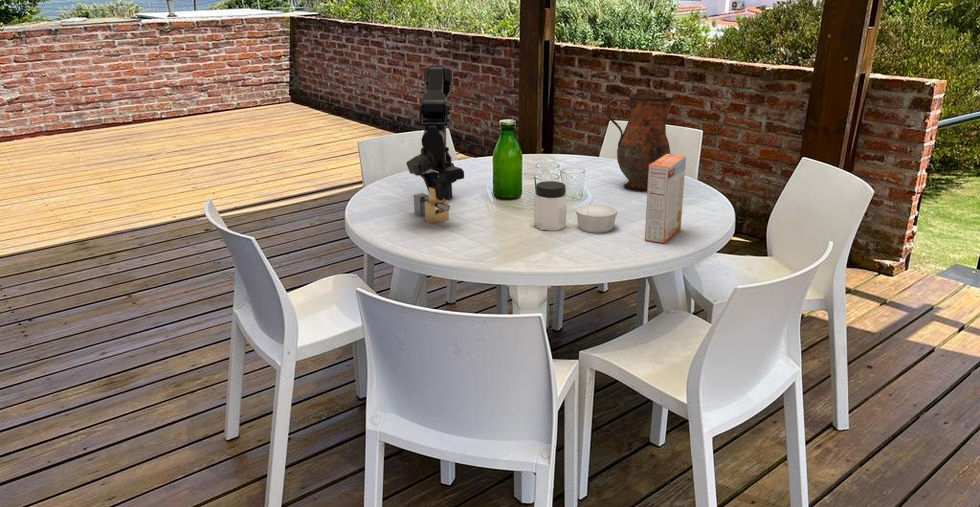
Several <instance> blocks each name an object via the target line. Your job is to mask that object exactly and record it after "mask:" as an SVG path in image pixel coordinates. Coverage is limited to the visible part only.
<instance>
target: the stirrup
mask: <svg viewBox="0 0 980 507" xmlns="http://www.w3.org/2000/svg"><path fill="white" fill-rule="evenodd" d="M428 196H429V201H426V202H425V216H424V217H425V220H424V221H425V222H426V223H429V224H431V225H433V224H436V223H440V222H444V221H448V220H449V219H450V218H449V217H450V216H449V213H450V210H449V211H445V210H442V209H439V208H437V209H436V207H435V203H439V202H442V203H444V204H447V205H449V200H446V199H443V200H442V201H439V197H438V189H437V185H436V186H431V187H429V192H428ZM430 201H431V202H430ZM433 202H434V203H433Z"/></svg>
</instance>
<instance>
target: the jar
mask: <svg viewBox="0 0 980 507" xmlns="http://www.w3.org/2000/svg"><path fill="white" fill-rule="evenodd" d="M566 192H567V188H566V184H565V183H563V182H560V181H555V180H554V181H551V180H549V181H548V180H547V181H546V180H545V181H541V182H538V183H536V184H535V193H534V194H533V227H535V228H537V229H538V228H539V229H538V230H540V231H542V230H548V231H549V232H550V231H551V232H559V231H560V230H562V229H563V228H566V227H567V207H568V206H567V202H568V199H567V198H568V194H566Z"/></svg>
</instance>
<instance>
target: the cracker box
mask: <svg viewBox="0 0 980 507" xmlns="http://www.w3.org/2000/svg"><path fill="white" fill-rule="evenodd" d="M686 158H687V156H686V155H681V154H679V155H678V154H674V153H673V154H672V153H671V154H666V155H664V156H662V157H661V158H659V159H658V160H656V161H655V162H653V163H651V164H650V165H649V170H648V189H647V192H646V208H645V210H646V211H645V228H644V241H645V242H652V243H660V244H666V243H667V242H668V241H669V240H670V239H671V238H672V237H673V236H675V235H676V234H677V233H678V232H679V231H680V230H681V229H682V228H681V227H682V218H683V217H682V216H683V201H684V191H685V190H684V189H685V188H684V187H685V175H686V163H687V162H686V160H687V159H686Z"/></svg>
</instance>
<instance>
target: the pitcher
mask: <svg viewBox="0 0 980 507" xmlns="http://www.w3.org/2000/svg"><path fill="white" fill-rule="evenodd" d="M674 100H675V98H674V97H670V96H664V95H663V96H662V95H657V94H653V93H648V92H647V93H645V92H636V93H632V94H630V95H629V98H626V97H616V98H613V99H612V100H610V101H609V102H608V103H606V106H605V114H606V116H607V119H609V120H610V122H611V123H613V125H614V126H615V127H616V128H617V129H618V130H619V131H620V136H619V140H618V144H617V149H616V157H617V163H618V164H617V165H618V166H619V169H620V171H621V173H622V174H623V175H624V176H625V178H626V179H627V182H626V183H624V184H623V188H624V189H626V190H628V191H632V192H639V191H640V192H641V193H643V191H647V189H648V170H649V165H650V164H651V163H653V162H655V161H656V160H658V159H659V158H661V157H662V156H664V155H666V154H672V153H671V148H670V142H669V140H668V137H667V132H666V130H667V129H666V128H667V127H666V126H667V125H666V124H667V119H668V115H669V112H670V110H671V105H672V103H673V102H674ZM620 101H626V102H629V108H630V109H629V115H628V122H627V123H626V125H625V128H624V130H622V128H621V126H620V125H619V124H618V122H616V120H614V119H613V117H611V115H610V113H609V108H610V107H611V105H612V104H613V103H615V102H620Z"/></svg>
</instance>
